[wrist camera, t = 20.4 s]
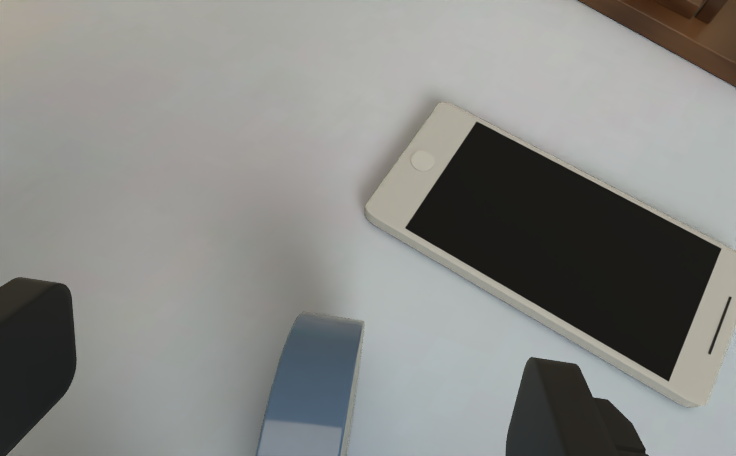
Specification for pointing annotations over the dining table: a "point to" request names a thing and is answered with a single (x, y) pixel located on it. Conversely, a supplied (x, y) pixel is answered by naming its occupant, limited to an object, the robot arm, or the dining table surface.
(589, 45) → the dining table surface
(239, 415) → the dining table surface
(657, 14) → the rack
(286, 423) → the disc
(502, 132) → the smartphone
